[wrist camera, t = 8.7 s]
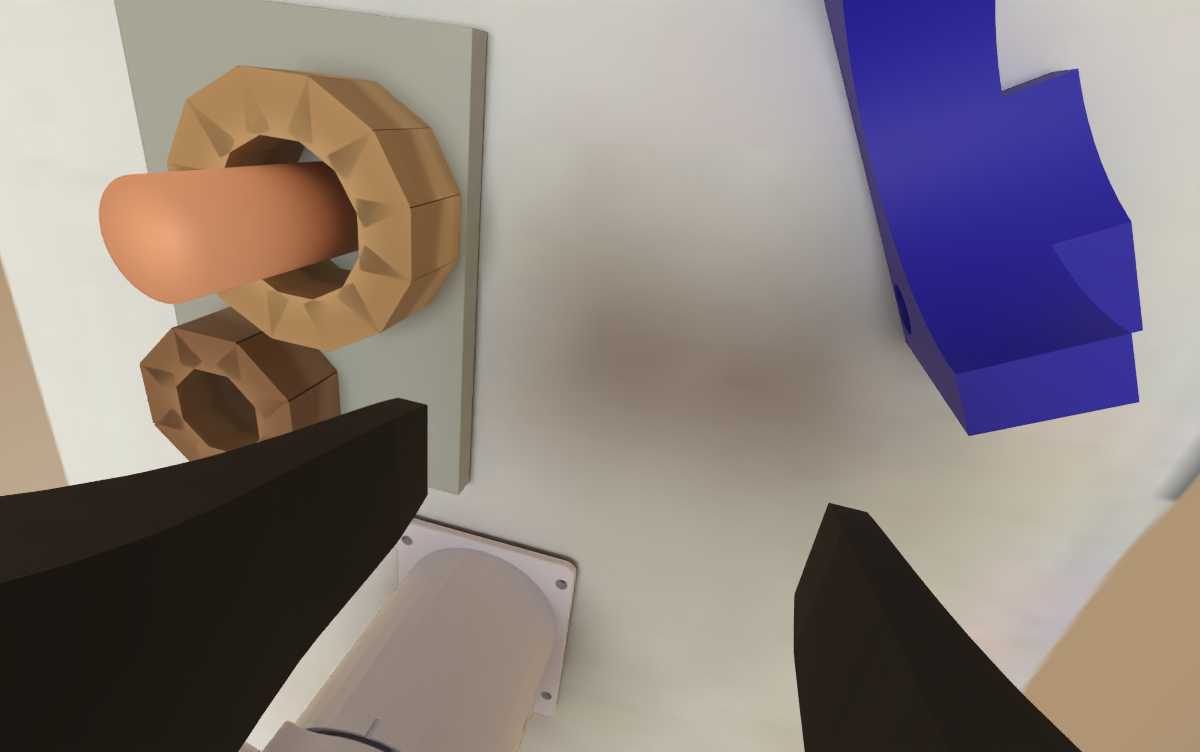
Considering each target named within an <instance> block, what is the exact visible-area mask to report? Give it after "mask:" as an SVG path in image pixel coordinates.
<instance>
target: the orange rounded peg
mask: <svg viewBox="0 0 1200 752" xmlns="http://www.w3.org/2000/svg"><path fill="white" fill-rule="evenodd" d="M99 221H100V228H101V233H102V237H103V240H104V243H105V245H106V248H107V250H108V252H109V254H110V256H111V258H112V260H113V261H114V263H115V265H116V266H117V267H118V269H119V270H120V272H121V273H122V274H123V275H124V276H125V278H126V279H127V280H128V281H129V282H130V283H131V284H132V285H133V286H134V287H136V288H137V289H138V290H139V291H141V292H142V293H144V294H145V295H147V296H149V297H150V298H152V299H155V300H157V301H160V302H163V303H168V304H180V303H185V302H188V301H191V300H195V299H198V298H201V297H205V296H208V295H211V294H215V293H218V292H221V291H225V290H228V289H231V288H235V287H238V286H241V285H245V284H248V283H251V282H255V281H258V280H261V279H265V278H268V277H271V276H275V275H278V274H281V273H285V272H288V271H291V270H295V269H298V268H301V267H305V266H308V265H311V264H315V263H318V262H321V261H325V260H328V259H331V258H335V257H338V256H342V255H345V254H348V253H352V252H355V251H358V250H359V244H358V224H357V213H356V211H355V209H354V207H353V205H352V203H351V201H350V199H349V197H348V195H347V193H346V191H345V189H344V187H343V185H342V184H341V182H340V180H339V178H338V176H337V174H336V172H335V171H334V170H333V169H332V168H331V167H330V166H328V165H327V164H326V163H325V162H324V161H313V162H299V163H286V164H272V165H258V166H244V167H230V168H216V169H202V170H188V171H175V172H161V173H147V174H133V175H124V176H121V177H118V178H117V179H115V180H113V181H112V182H111V183H110V184H109V185H108V186H107V188H106V189H105V191H104V193H103V195H102V198H101V201H100V207H99Z"/></svg>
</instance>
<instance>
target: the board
mask: <svg viewBox="0 0 1200 752" xmlns="http://www.w3.org/2000/svg"><path fill="white" fill-rule="evenodd" d="M114 3H115V8H116V13H117V18H118V24H119V29H120V34H121V39H122V44H123V49H124V54H125V59H126V64H127V69H128V74H129V79H130V84H131V89H132V95H133V100H134V105H135V110H136V115H137V120H138V125H139V130H140V135H141V140H142V145H143V150H144V155H145V161H146V166H147V171H148V173H161V172H168V167H167V163H168V162H167V159H168V156H169V153H170V150H171V146H172V143H173V140H174V137H175V133H176V130H177V127H178V124H179V120H180V117H181V114H182V111H183V108H184V104H185V101H186V100H187V98H189V97H190V96H192V95H193V94H195V93H196V92H198V91H199V90H201V89H202V88H204V87H205V86H207V85H208V84H210V83H211V82H213V81H214V80H216V79H218V78H219V77H221V76H222V75H224V74H225V73H227V72H228V71H230V70H231V69H233V68H234V67H236V66H238V65H240V66H251V67H262V68H273V69H284V70H294V71H305V72H316V73H323V74H329V75H336V76H342V77H349V78H356V79H362V80H369V81H375V82H378V83H379V84H380V85H381V86H382V87H384V88H385V89H386V90H387V91H388V92H390V93H391V94H392V95H393V96H394V97H395V98H397V99H398V100H399V101H400V102H401V103H403V104H404V105H405V106H406V107H407V108H409V109H410V110H411V111H412V112H413V113H415V114H416V115H417V116H418V117H419V118H420V119H422V120H423V121H424V122H425V123H426V124H428V125H429V126H430V127H431V128H432V130H433V133H434V135H435V137H436V139H437V141H438V144H439V146H440V148H441V150H442V152H443V155H444V157H445V159H446V161H447V163H448V166H449V168H450V170H451V172H452V174H453V177H454V179H455V181H456V183H457V186H458V188H459V190H460V192H461V225H460V258H459V260H458V262H457V263H456V265H455V266H454V268H453V270H452V271H451V273H450V274H449V276H448V277H447V279H446V280H445V282H444V284H443V285H442V287H441V288H440V290H439V291H438V293H437V294H436V296H435V298H434V299H433V301H432V302H431V304H429V305H427V306H426V307H424V308H422V309H421V310H419V311H417V312H415V313H414V314H412V315H410V316H409V317H407V318H405V319H403V320H402V321H400V322H398V323H397V324H395V325H393V326H392V327H390V328H388V329H386V330H385V331H383V332H381V333H379V334H377V335H374V336H371V337H369V338H366V339H363V340H360V341H358V342H355V343H352V344H350V345H347V346H344V347H342V348H339V349H336V350H334V351H331V352H328V351H324V350H320V351H321V352H322V354H323V355H324V356H325V357H326V358H327V359H328V360H329V362H330V363H331V364H332V365H333V366H334V367H335V369H336V370H337V371H336V372H338V380H339V394H340V407H341V415H342V414H345V413H348V412H351V411H354V410H357V409H360V408H363V407H366V406H369V405H372V404H375V403H379V402H382V401H386V400H390V399H394V398H402V399H406V400H410V401H414V402H418V403H422V404H426V405H428V487H430V488H434V489H437V490H441V491H445V492H448V493H452V494H456V495H459V494H460V492H461V491H462V490H463V488H464V487H465V486H466V485H467V483H468V482H469V475H470V450H471V425H472V400H473V374H474V349H475V324H476V299H477V274H478V248H479V223H480V198H481V173H482V147H483V122H484V97H485V72H486V46H487V32H484V31H481V30H477V29H474V28H468V27H461V26H453V25H446V24H438V23H431V22H423V21H415V20H408V19H400V18H393V17H385V16H377V15H370V14H362V13H355V12H347V11H339V10H332V9H324V8H317V7H309V6H301V5H294V4H286V3H279V2H271V1H263V0H114ZM313 161H322V160H321V159H320V158H319V157H317V156H316V155H315V154H314V153H313V152H311V151H310V150H309V149H308V148H306V147H304V150H303V152H302V154H301V157H300V159H299V161H298V163H299V162H313ZM358 258H359V250H358V251H355V252H352V253H348V254H345V255H342V256H338V257H335V258H331V259H330V260H331V261H332V262H333V263H335V264H336V265H337V266H338V267H340V268H341V269H346V270H350V271H352V269H353V267H354V265H355V263H356V261H357V259H358ZM228 307H230V305H229V304H227V303H226V302H225V301H223V300H222V299H221V298H220V297H219V295H217V294H216V293H215V294H211V295H208V296H205V297H201V298H198V299H195V300H191V301H188V302H185V303H180V304H174V308H175V313H176V318H177V323H178V326H179V325H181V324H184V323H187V322H190V321H192V320H195V319H198V318H200V317H203V316H206V315H209V314H211V313H214V312H217V311H219V310H222V309H225V308H228Z"/></svg>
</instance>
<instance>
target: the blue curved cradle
mask: <svg viewBox="0 0 1200 752" xmlns="http://www.w3.org/2000/svg"><path fill="white" fill-rule="evenodd" d="M824 2H825V6H826V10H827V15H828V19H829V23H830V27H831V31H832V35H833V40H834V44H835V48H836V52H837V56H838V60H839V64H840V69H841V73H842V77H843V81H844V85H845V89H846V94H847V98H848V102H849V106H850V110H851V114H852V118H853V123H854V127H855V131H856V135H857V139H858V143H859V148H860V152H861V156H862V160H863V164H864V168H865V172H866V177H867V181H868V185H869V189H870V193H871V197H872V202H873V206H874V210H875V214H876V218H877V222H878V226H879V231H880V235H881V239H882V243H883V247H884V251H885V256H886V260H887V264H888V268H889V272H890V276H891V280H892V285H893V289H894V293H895V297H896V301H897V305H898V310H899V314H900V318H901V322H902V326H903V330H904V334H905V339H906V343H907V344H908V346H909V347H910V349H911V350H912V352H913V353H914V355H915V356H916V358H917V359H918V361H919V362H920V364H921V365H922V367H923V368H924V370H925V371H926V373H927V374H928V376H929V377H930V379H931V380H932V382H933V383H934V385H935V386H936V388H937V389H938V391H939V392H940V394H941V395H942V397H943V398H944V400H945V401H946V403H947V404H948V406H949V407H950V409H951V410H952V412H953V413H954V415H955V416H956V418H957V419H958V421H959V422H960V424H961V425H962V427H963V428H964V430H965V431H966V433H967V434H968V436H971V435H976V434H981V433H986V432H991V431H996V430H1001V429H1006V428H1011V427H1016V426H1021V425H1026V424H1031V423H1036V422H1041V421H1046V420H1051V419H1056V418H1061V417H1066V416H1071V415H1076V414H1081V413H1086V412H1091V411H1096V410H1101V409H1106V408H1111V407H1116V406H1121V405H1126V404H1131V403H1136V402H1139V395H1138V386H1137V377H1136V369H1135V360H1134V351H1133V342H1132V333H1133V332H1137V331H1142V330H1143V327H1142V317H1141V308H1140V299H1139V289H1138V280H1137V270H1136V261H1135V252H1134V242H1133V233H1132V224H1131V220H1130V219H1129V217H1128V216H1127V214H1126V212H1125V210H1124V209H1123V207H1122V205H1121V203H1120V202H1119V200H1118V198H1117V196H1116V194H1115V192H1114V190H1113V188H1112V186H1111V184H1110V182H1109V180H1108V177H1107V175H1106V172H1105V170H1104V168H1103V165H1102V163H1101V160H1100V157H1099V154H1098V152H1097V149H1096V146H1095V143H1094V140H1093V136H1092V133H1091V129H1090V126H1089V123H1088V118H1087V114H1086V110H1085V105H1084V101H1083V95H1082V90H1081V84H1080V78H1079V71H1078V69H1071V70H1064V71H1057V72H1051V73H1049V74H1046V75H1043V76H1041V77H1038V78H1035V79H1033V80H1030V81H1028V82H1025V83H1022V84H1020V85H1017V86H1014V87H1012V88H1009V89H1006V90H1004V91H1001V84H1000V76H999V68H998V57H997V45H996V25H995V0H824Z"/></svg>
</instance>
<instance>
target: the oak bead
mask: <svg viewBox="0 0 1200 752" xmlns="http://www.w3.org/2000/svg"><path fill="white" fill-rule="evenodd" d="M304 147H306V148H308V149H309V150H310V151H311V152H313V153H314V154H315V155H316V156H317V157H319V158H320V159H321V160H322V161H324V162H325V163H326V164H327V165H328V166H330V167H331V168H332V169H333V170H334V171H335V172H336V174H337V176H338V178H339V180H340V182H341V184H342V185H343V187H344V189H345V191H346V193H347V195H348V197H349V199H350V201H351V203H352V205H353V207H354V209H355V211H356V213H357V224H358V244H359V258H358V259H357V261H356V263H355V265H354V267H353V269H352V271H350V270H346V269H341V268H340V267H338V266H337V265H336V264H335V263H333V262H332V261H331V260H330V259H328V260H325V261H321V262H318V263H315V264H311V265H308V266H305V267H301V268H298V269H295V270H291V271H288V272H285V273H281V274H278V275H275V276H271V277H268V278H265V279H261V280H258V281H255V282H251V283H248V284H245V285H241V286H238V287H235V288H231V289H228V290H225V291H221V292H218V293H216V294H217V295H219V297H220V298H221V299H222V300H223V301H225V302H226V303H227V304H229V305H230V306H231V307H232V308H234V309H235V310H236V311H237V312H239V313H240V314H241V315H243V316H244V317H245V318H246V319H248V320H249V321H250V322H251V323H253V324H254V325H255V326H257V327H258V328H259V329H260V330H262V331H263V332H264V333H266V334H267V335H268V336H269V337H271V338H273V339H277V340H281V341H285V342H290V343H294V344H298V345H302V346H307V347H311V348H315V349H319V350H324V351H328V352H331V351H334V350H336V349H339V348H342V347H344V346H347V345H350V344H352V343H355V342H358V341H360V340H363V339H366V338H369V337H371V336H374V335H377V334H379V333H381V332H383V331H385V330H386V329H388V328H390V327H392V326H393V325H395V324H397V323H398V322H400V321H402V320H403V319H405V318H407V317H409V316H410V315H412V314H414V313H415V312H417V311H419V310H421V309H422V308H424V307H426V306H427V305H429V304H431V302H432V301H433V299H434V298H435V296H436V294H437V293H438V291H439V290H440V288H441V287H442V285H443V284H444V282H445V280H446V279H447V277H448V276H449V274H450V273H451V271H452V270H453V268H454V266H455V265H456V263H457V262H458V260H459V258H460V225H461V192H460V190H459V188H458V186H457V183H456V181H455V179H454V177H453V174H452V172H451V170H450V168H449V166H448V163H447V161H446V159H445V157H444V155H443V152H442V150H441V148H440V146H439V144H438V141H437V139H436V137H435V135H434V133H433V130H432V128H431V127H430V126H429V125H428V124H426V123H425V122H424V121H423V120H422V119H420V118H419V117H418V116H417V115H416V114H415V113H413V112H412V111H411V110H410V109H409V108H407V107H406V106H405V105H404V104H403V103H401V102H400V101H399V100H398V99H397V98H395V97H394V96H393V95H392V94H391V93H390V92H388V91H387V90H386V89H385V88H384V87H382V86H381V85H380V84H379V83H378V82H375V81H369V80H362V79H356V78H349V77H342V76H336V75H329V74H323V73H316V72H305V71H294V70H284V69H273V68H262V67H251V66H240V65H238V66H236V67H234V68H233V69H231V70H230V71H228V72H227V73H225V74H224V75H222V76H221V77H219V78H218V79H216V80H214V81H213V82H211V83H210V84H208V85H207V86H205V87H204V88H202V89H201V90H199V91H198V92H196V93H195V94H193V95H192V96H190V97H189V98H187V100H186V101H185V104H184V108H183V111H182V114H181V117H180V120H179V124H178V127H177V130H176V133H175V137H174V140H173V143H172V146H171V150H170V153H169V156H168V159H167V162H168V163H167V167H168V172H175V171H188V170H202V169H216V168H230V167H244V166H258V165H272V164H286V163H298V161H299V159H300V157H301V154H302V152H303V150H304Z"/></svg>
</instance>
